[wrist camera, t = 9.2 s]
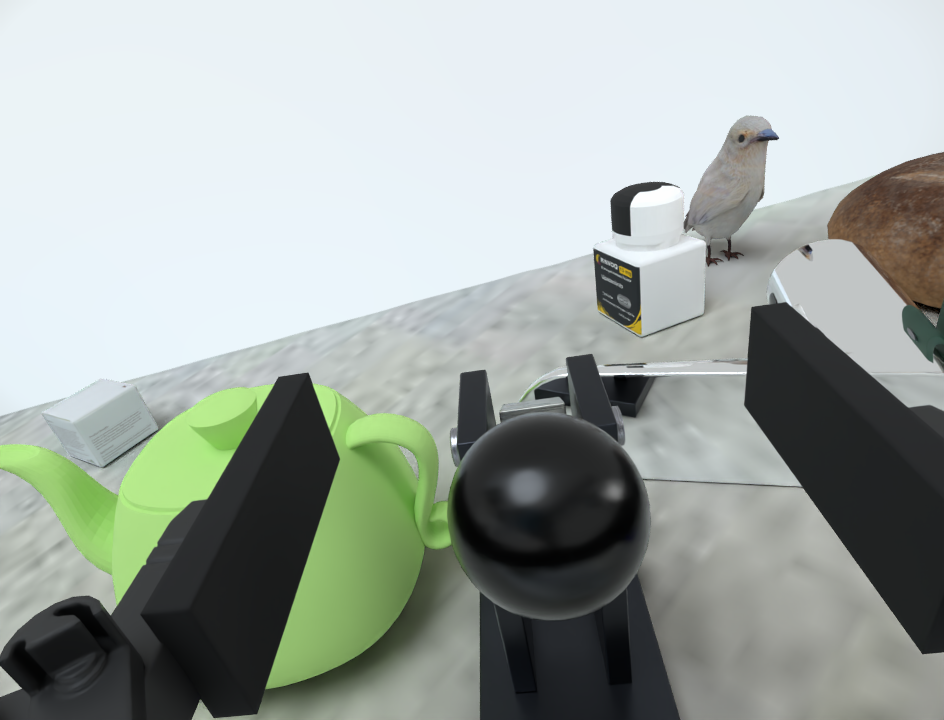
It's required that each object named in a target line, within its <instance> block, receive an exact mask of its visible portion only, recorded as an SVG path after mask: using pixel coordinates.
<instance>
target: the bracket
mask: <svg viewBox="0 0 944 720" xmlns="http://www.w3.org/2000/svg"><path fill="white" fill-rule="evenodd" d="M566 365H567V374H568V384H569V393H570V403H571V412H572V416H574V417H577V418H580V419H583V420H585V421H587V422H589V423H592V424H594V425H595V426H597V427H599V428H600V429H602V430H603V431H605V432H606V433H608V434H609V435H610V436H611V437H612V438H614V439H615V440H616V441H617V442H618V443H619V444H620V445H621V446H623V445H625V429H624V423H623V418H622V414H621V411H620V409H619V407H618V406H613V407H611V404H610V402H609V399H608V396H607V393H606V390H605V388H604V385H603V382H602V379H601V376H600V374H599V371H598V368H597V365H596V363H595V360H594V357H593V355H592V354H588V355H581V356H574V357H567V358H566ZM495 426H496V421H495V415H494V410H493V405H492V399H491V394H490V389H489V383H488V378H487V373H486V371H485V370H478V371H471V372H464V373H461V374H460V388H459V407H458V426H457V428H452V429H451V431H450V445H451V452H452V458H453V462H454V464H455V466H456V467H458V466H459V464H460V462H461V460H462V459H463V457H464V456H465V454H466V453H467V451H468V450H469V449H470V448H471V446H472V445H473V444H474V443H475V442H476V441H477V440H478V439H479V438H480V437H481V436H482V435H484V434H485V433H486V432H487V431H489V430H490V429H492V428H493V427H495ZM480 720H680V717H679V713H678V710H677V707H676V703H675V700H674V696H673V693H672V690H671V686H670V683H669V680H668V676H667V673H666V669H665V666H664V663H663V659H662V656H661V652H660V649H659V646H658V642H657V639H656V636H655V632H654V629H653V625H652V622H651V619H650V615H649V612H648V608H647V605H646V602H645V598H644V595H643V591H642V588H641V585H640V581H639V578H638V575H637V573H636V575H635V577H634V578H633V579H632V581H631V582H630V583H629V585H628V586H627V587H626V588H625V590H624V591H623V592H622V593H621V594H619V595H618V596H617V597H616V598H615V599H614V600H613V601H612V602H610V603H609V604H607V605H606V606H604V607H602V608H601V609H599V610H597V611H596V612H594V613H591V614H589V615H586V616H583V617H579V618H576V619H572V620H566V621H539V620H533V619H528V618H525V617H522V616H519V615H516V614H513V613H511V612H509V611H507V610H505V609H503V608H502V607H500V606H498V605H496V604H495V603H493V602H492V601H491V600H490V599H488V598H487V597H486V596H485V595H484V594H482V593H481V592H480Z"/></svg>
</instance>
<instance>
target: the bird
mask: <svg viewBox="0 0 944 720" xmlns="http://www.w3.org/2000/svg"><path fill="white" fill-rule="evenodd" d="M777 139H779V137H778V136H777V135H776V133H775V132H773V131H772V129H771V125H770V124H769V122H768V121H767V120H766V119H764V118H763V117H758V116H745V117H743V118H740V119H739V120H738V121H737V122H736V123H735V124H734V125H733V126H732V127H731V129H730V131H729V133H728V135H727V138H726V140H725V142H724V144H723V146H722V148H721V150H720V152H719V153H718V155H717V157H716V158H715V159H714V161H713V162H712V163H711V164H710V166H709V167H708V168H707V169H706V171H705V173H704V175H703V176H702V178H701V181H700V183H699V185H698V188H697V191H696V192H695V194H694V196H693V198H692V200H691V204H690V210H689V212H688V213H687V215H686V216H687V217H686V219H685V221H684V229H685V233H687V231H688V230H690V229H691V228H692V227H693V229H692V231H693V230H696V231H697V232H698V233H699V234H700V235H702V236H704V237H705V242H706V245H707V248H708V258H707V257H706V262H707V264H708V267H709V263H711V262H714V263H715V264H716V265H718V264H717V262H716V260H720V261H723V260H721V259H718V258H713V259H712V258H710V255H711V248H710V242H711V239H712V238H713V239H722V238H726V239H727V241H728V252H727V251H725V250H723V251H721V252H724V253H725V256H726V257H728V260H730V257H732V256H735V257H736V258H737V259H738V257H737V256H736V255H737V254H740V255H743V254H741V253H738V252H734V253H732V252H731V240H730V239H731V235H732V234H734V233H735V232H736V231H737V230H738V229H739V228H740V227H741V225H742V224H743V223H744V222H745V220H746V219H747V218H748V217H749V215H750V214H751V212H752V211H753V209H754V208H755V206H756V205H757V203H758V202H759V201H760V200H761V199H762V198H763V195H764V180H765V164H766V151H767V145H768V141H769V140H777ZM743 256H744V255H743ZM723 262H724V261H723Z"/></svg>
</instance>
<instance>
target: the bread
mask: <svg viewBox="0 0 944 720" xmlns="http://www.w3.org/2000/svg"><path fill="white" fill-rule="evenodd" d="M827 226H828V239H841V240H846V241H851V242H854V243H856V244H859V245H861V246H863V247H864V248H866V249H867V250H868V251H870V252H871V253H872V255H873V256H874V257H875V258H876V259H877V260H878V261H879V263H880V264H881V265H882V266H883V267H884V268H885V270H886V271H887V272H888V273H889V274H890V275H891V277H892V278H893V279H894V280H895V281H896V282H897V284H898V285H899V286H900V287H901V288H902V289H903V291H904V292H905V293H906V294H907V295H908V296H909V297H910V299H911V300H912V301H915V302H918V303H921V304H924V305H927V306H931V307H936V308H941V307H942V303H943V299H944V152H942V153H937V154H932V155H929V156H925V157H922V158H917V159H914V160H910V161H907V162H905V163H902V164H900V165H897V166H895V167H893V168H890V169H888V170H886V171H884V172H882V173H880V174H878V175H876V176H875V177H873V178H871V179H870V180H868V181H866V182H865V183H863V184H862V185H860V186H859V187H857V188H856V189H854V190H853V191H851V192H850V193H849V194H848V195H847V196H846V197H845V198H844V199H843V200H842V201H841V202H840V203H839V204H838V206H837V208H836V209H835V211H834V213H833V215H832V217H831V219H830V221H829V223H828V225H827Z"/></svg>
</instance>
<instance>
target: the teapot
mask: <svg viewBox="0 0 944 720" xmlns="http://www.w3.org/2000/svg"><path fill="white" fill-rule="evenodd" d="M273 386H274V384H271V385H264V386H258V387H253V388H245V387H238V388H231V389H226V390H223V391H219V392H217V393H214V394H212V395H210V396H208V397H206V398H204V399H203V400H201V401H200V402H198V403H197V404H196V405H195V406H193V407H192V408H190V409H189V410H187V411H185V412H183V413H181V414H180V415H178V416H177V417H175V418H174V419H173V420H171V421H170V422H169V423H168V424H166V425H165V426H164V427H163V428H162V429H161V430H160V431H159V432H158V433H157V434H156V435H155V436H154V437H153V438H152V439H151V440H150V441H149V443H148V444H147V445H146V446H145V447H144V449H143V450H142V451H141V453H140V454H139V455H138V457H137V458H136V460H135V461H134V462H133V464H132V465H131V467H130V469H129V470H128V472H127V474H126V475H125V477H124V479H123V481H122V484H121V486H120V490H119V495H116V494H114V493H112V492H111V491H109V490H108V489H106V488H105V487H103V486H102V485H101V484H99V483H98V482H97V481H95V480H94V479H93V478H92V477H91V476H89V475H88V474H87V473H86V472H85V471H83V470H82V469H81V468H80V467H78V466H77V465H75V464H74V463H73V462H71V461H70V460H68V459H66V458H65V457H63V456H61V455H59V454H57V453H55V452H53V451H51V450H48V449H45V448H42V447H38V446H31V445H18V444H16V445H1V446H0V469H2V470H5V471H8V472H10V473H13V474H16V475H17V476H19V477H20V478H22V479H23V480H25V481H27V482H28V483H30V484H31V485H32V486H33V487H34V488H35V489H36V490H37V491H39V492H40V493H41V494H42V495H43V497H44V498H45V499H46V500H47V502H48V503H49V504H50V506H51V507H52V508H53V510H54V512H55V513H56V515H57V517H58V518H59V520H60V521H61V523H62V525H63V527H64V528H65V530H66V532H67V534H68V535H69V537H70V538H71V540H72V541H73V543H74V544H75V546H76V547H77V549H78V550H79V551H80V552H81V553H82V554H83V556H84V557H85V558H86V559H87V560H89V561H90V562H91V563H92V564H94V565H95V566H96V567H97V568H99V569H101V570H103V571H105V572H107V573H109V574H110V575H112V577H113V584H114V591H115V598H116V604H117V605H118V604H119V602H120V600H121V599H122V597H123V596H124V594H125V593H126V591H127V589H128V588H129V586H130V585H131V583H132V582H133V580H134V578H135V577H136V575H137V574H138V572H139V570H140V569H141V567H142V566H143V565H146V559H147V558H148V556H149V555H150V553H151V552H152V550H153V548H154V547H157V542H158V540H159V539H160V537H161V536H162V534H163V533H164V531H165V529H166V528H167V526H168V525H169V523H170V522H171V520H172V519H174V518H175V517H176V516H177V515H178V514H179V513H180V512H181V511H182V510H183V509H184V508H185V507H186V506H187V505H189V504H190V503H191V502H192V501H197V500H205V499H208V497H209V495H210V494H211V492H212V490H213V489H214V487H215V485H216V483H217V482H218V480H219V478H220V477H221V475H222V473H223V471H224V470H225V468H226V466H227V465H228V463H229V461H230V460H231V458H232V456H233V454H234V453H235V451H236V449H237V448H238V446H239V444H240V442H241V441H242V439H243V437H244V436H245V434H246V432H247V430H248V429H249V427H250V425H251V424H252V422H253V420H254V418H255V417H256V415H257V413H258V412H259V410H260V408H261V406H262V405H263V403H264V401H265V400H266V398H267V396H268V394H269V393H270V391H271V389H272V388H273ZM313 386H314V389H315V392H316V395H317V397H318V400H319V403H320V405H321V408H322V411H323V414H324V416H325V419H326V422H327V424H328V427H329V430H330V433H331V435H332V438H333V441H334V443H335V446H336V449H337V452H338V454H339V457H340V461H339V464H338V467H337V470H336V473H335V476H334V479H333V483H332V486H331V489H330V492H329V495H328V498H327V501H326V504H325V507H324V510H323V513H322V516H321V519H320V522H319V525H318V529H317V532H316V535H315V538H314V541H313V544H312V547H311V550H310V553H309V556H308V559H307V562H306V565H305V568H304V572H303V575H302V578H301V581H300V584H299V587H298V590H297V593H296V596H295V599H294V602H293V605H292V608H291V611H290V614H289V618H288V621H287V624H286V627H285V630H284V633H283V636H282V639H281V642H280V645H279V648H278V651H277V654H276V657H275V660H274V664H273V667H272V670H271V673H270V676H269V679H268V682H267V685H266V688H265V689H270V688H276V687H282V686H286V685H289V684H293V683H296V682H300V681H303V680H306V679H309V678H311V677H314V676H317V675H319V674H322V673H325V672H327V671H329V670H331V669H333V668H336V667H338V666H340V665H342V664H344V663H346V662H348V661H349V660H351V659H353V658H355V657H356V656H358V655H360V654H361V653H362V652H364V651H365V650H366V649H368V648H369V647H370V646H372V645H373V644H374V643H375V642H376V641H377V640H378V639H379V638H380V637H381V636H382V635H383V634H384V633H385V632H386V631H387V630H388V629H389V628H390V627H391V625H392V624H393V623H394V622H395V620H396V619H397V618H398V616H399V615H400V613H401V612H402V610H403V608H404V606H405V605H406V603H407V601H408V599H409V598H410V596H411V594H412V592H413V589H414V587H415V584H416V581H417V578H418V576H419V572H420V568H421V564H422V560H423V556H424V549H425V546H426V547H427V548H430V549H444V548H447V547H449V546H451V545H452V544H451V539H450V534H449V529H448V520H447V506H448V501H441V502H437V503H435V504H433V502H434V496H435V491H436V486H437V479H438V464H439V462H438V452H437V448H436V444H435V442H434V439H433V437H432V436H431V434H430V433H429V432H428V430H427V429H426V428H425V427H424V426H422V425H421V424H420V423H418V422H416V421H414V420H412V419H410V418H407V417H404V416H401V415H396V414H387V413H382V414H373V415H369V416H368V415H367V414H366V413H364V412H363V411H362V410H361V409H360V408H358V407H357V406H356V405H355V404H353V403H352V402H351V401H350V400H348V399H347V398H345V397H344V396H342V395H341V394H339V393H338V392H336V391H335V390H333V389H331V388H329V387H326V386H323V385H318V384H313ZM398 445H399V446H402V447H404V448H407V449H408V450H410V451H411V452H412V453H413V454H414V455H415V457H416V459H417V462H418V468H419V480H417V478H416V476H415V474H414V472H413V470H412V468H411V466H410V464H409V463H408V461H407V459H406V458H405V456H404V455H403V453H402V451H401V450H400V448H399V447H398Z"/></svg>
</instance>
